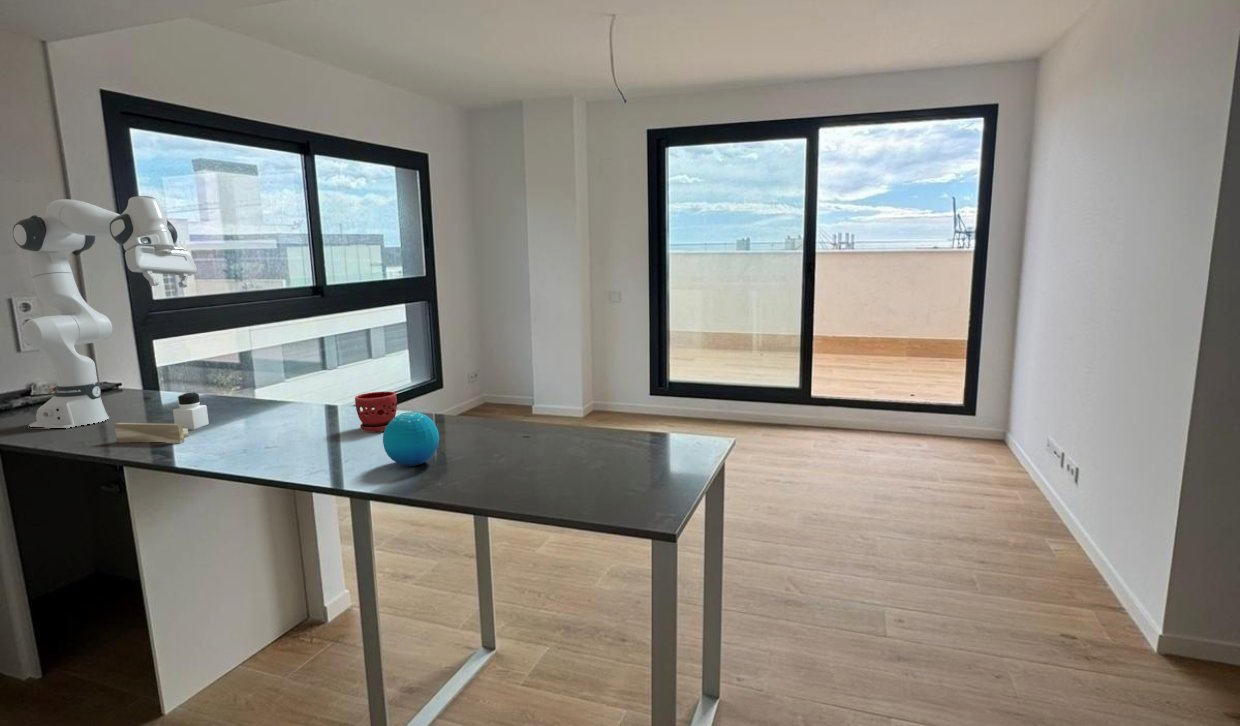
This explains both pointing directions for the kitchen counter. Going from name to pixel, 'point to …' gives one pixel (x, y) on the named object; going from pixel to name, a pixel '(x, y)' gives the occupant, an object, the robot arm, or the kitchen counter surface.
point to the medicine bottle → (190, 412)
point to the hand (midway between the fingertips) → (169, 286)
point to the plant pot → (376, 410)
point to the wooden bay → (150, 432)
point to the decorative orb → (410, 438)
